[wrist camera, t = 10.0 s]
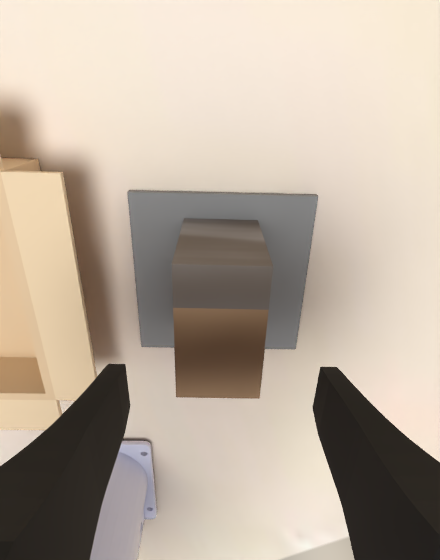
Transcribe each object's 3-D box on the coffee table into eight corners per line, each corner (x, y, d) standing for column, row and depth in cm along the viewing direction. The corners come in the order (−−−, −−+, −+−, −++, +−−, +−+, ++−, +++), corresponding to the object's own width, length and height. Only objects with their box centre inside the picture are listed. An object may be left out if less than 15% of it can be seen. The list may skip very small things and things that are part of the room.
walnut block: (249, 327, 23) (259, 398, 17) (185, 326, 23) (176, 397, 17) (257, 220, 20) (273, 266, 14) (184, 218, 20) (171, 263, 14)
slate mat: (294, 345, 24) (295, 349, 24) (142, 343, 24) (141, 346, 23) (316, 194, 19) (318, 196, 19) (129, 190, 19) (127, 192, 19)
